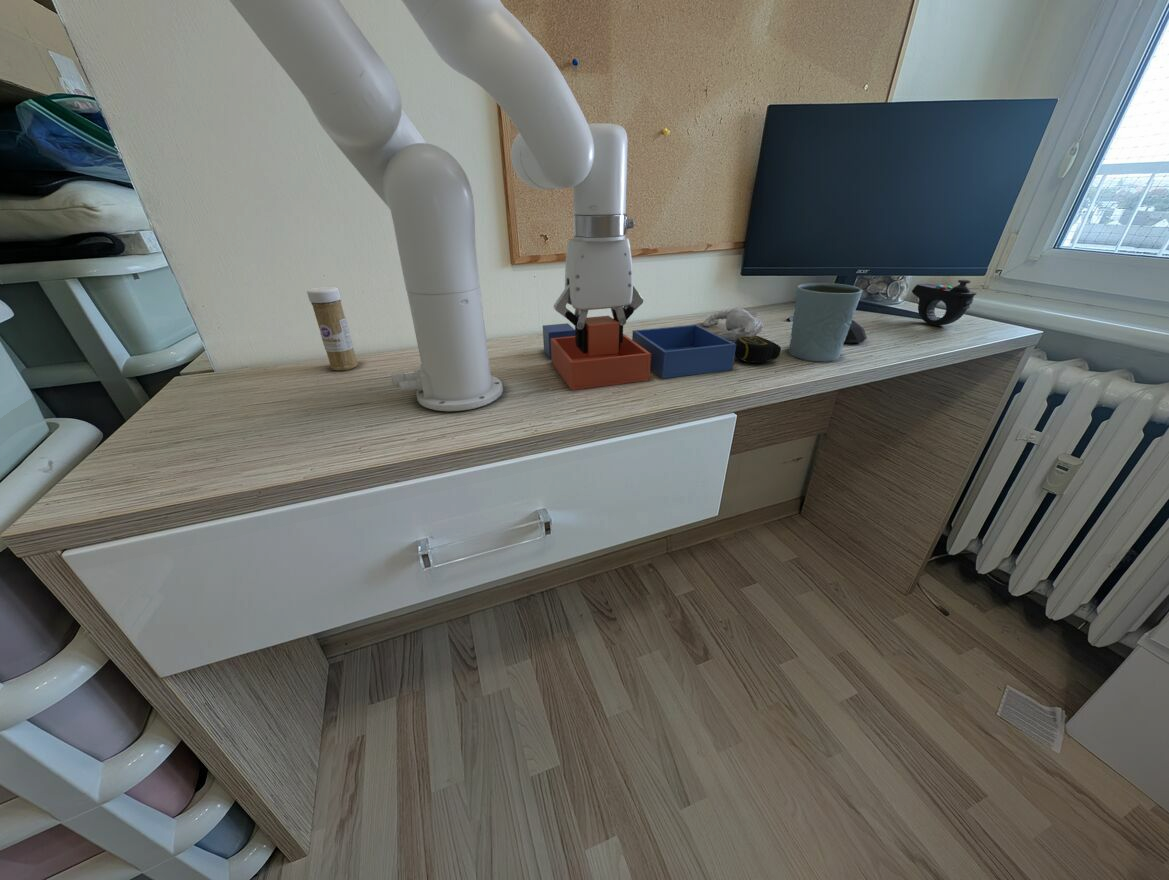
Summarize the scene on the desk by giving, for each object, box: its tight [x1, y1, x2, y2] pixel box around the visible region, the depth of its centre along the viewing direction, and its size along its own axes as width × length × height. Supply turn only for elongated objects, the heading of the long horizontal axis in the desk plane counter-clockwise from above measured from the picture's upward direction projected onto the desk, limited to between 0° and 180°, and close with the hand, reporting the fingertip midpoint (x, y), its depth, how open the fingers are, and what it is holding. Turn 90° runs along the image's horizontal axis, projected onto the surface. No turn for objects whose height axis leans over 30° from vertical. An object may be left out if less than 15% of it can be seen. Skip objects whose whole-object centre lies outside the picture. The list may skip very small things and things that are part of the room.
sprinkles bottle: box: [306, 285, 359, 371], centre depth 74 cm, size 5×5×14 cm
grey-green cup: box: [788, 282, 863, 363], centre depth 78 cm, size 10×10×12 cm
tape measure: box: [734, 335, 782, 364], centre depth 78 cm, size 7×7×4 cm
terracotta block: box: [585, 315, 619, 357], centre depth 71 cm, size 5×5×5 cm
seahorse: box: [702, 307, 765, 343], centre depth 92 cm, size 5×12×20 cm
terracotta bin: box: [551, 333, 651, 391], centre depth 73 cm, size 13×13×4 cm
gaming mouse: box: [844, 319, 868, 344], centre depth 91 cm, size 6×15×4 cm, turn 17°
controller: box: [911, 279, 978, 327], centre depth 97 cm, size 4×12×10 cm, turn 17°
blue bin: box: [631, 324, 736, 380], centre depth 77 cm, size 13×13×4 cm
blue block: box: [542, 322, 575, 360], centre depth 81 cm, size 5×5×5 cm
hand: (599, 348), depth 72 cm, fingers closed on terracotta block, 5 cm apart
